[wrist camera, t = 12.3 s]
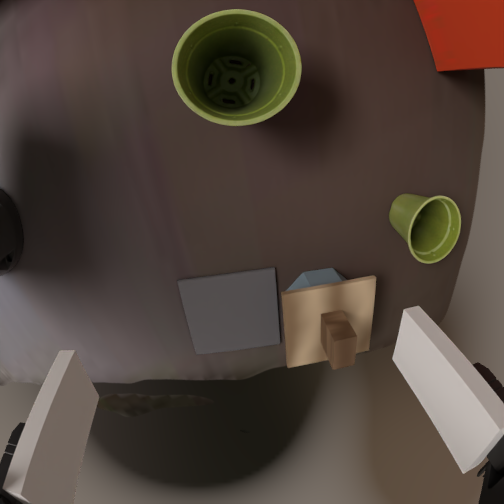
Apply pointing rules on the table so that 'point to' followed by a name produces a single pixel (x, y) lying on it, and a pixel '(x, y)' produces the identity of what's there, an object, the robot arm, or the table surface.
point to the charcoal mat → (231, 310)
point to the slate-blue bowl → (316, 278)
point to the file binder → (464, 33)
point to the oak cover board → (323, 302)
